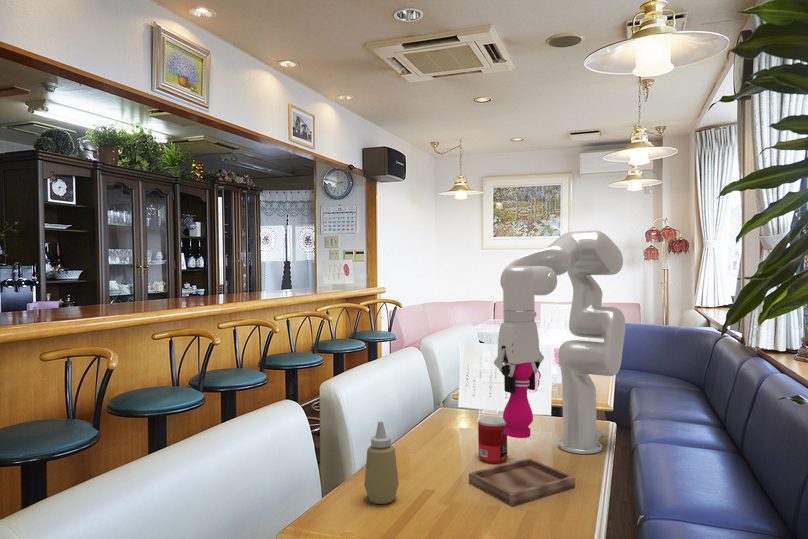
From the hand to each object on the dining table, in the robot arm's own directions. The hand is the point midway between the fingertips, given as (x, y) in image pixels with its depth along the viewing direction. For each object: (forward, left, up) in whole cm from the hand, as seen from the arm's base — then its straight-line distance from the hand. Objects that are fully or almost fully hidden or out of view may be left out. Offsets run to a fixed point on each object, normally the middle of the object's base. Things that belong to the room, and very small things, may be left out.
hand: (519, 389), depth 135 cm
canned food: (-6, -18, -24) cm, 30 cm away
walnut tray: (0, 0, -23) cm, 23 cm away
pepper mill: (+1, 0, -11) cm, 11 cm away
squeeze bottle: (+33, -11, -24) cm, 42 cm away
